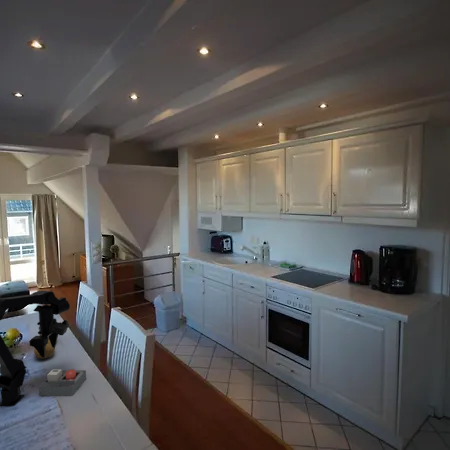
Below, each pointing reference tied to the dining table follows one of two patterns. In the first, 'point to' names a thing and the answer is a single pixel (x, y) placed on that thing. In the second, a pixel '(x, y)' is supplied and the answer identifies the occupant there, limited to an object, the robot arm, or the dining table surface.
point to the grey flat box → (62, 385)
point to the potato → (46, 351)
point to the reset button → (70, 374)
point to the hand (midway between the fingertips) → (48, 352)
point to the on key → (54, 375)
